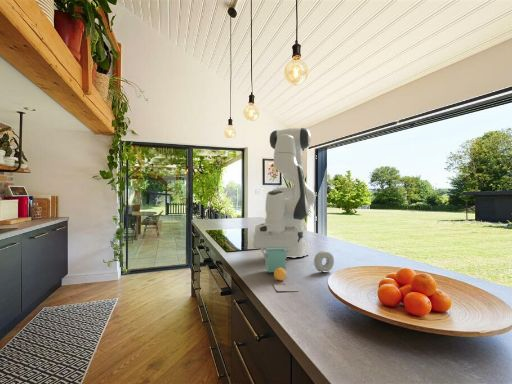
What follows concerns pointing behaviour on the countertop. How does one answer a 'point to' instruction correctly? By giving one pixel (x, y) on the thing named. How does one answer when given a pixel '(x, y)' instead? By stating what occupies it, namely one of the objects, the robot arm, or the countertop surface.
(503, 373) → the countertop surface
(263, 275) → the countertop surface
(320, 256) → the donut
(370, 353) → the countertop surface
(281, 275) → the ball
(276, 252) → the teal cube
